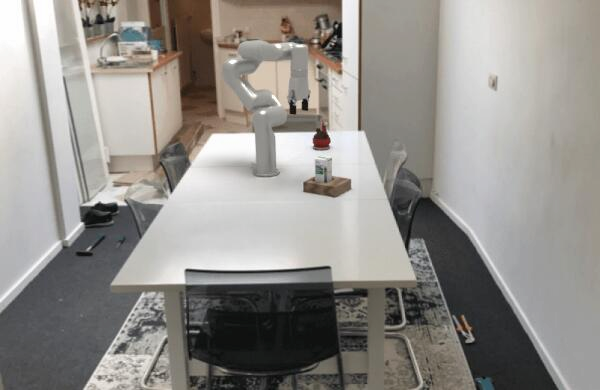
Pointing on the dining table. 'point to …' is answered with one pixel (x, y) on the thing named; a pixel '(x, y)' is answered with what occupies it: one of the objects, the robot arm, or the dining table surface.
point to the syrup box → (323, 169)
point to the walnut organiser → (327, 186)
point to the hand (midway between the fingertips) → (298, 112)
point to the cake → (321, 137)
